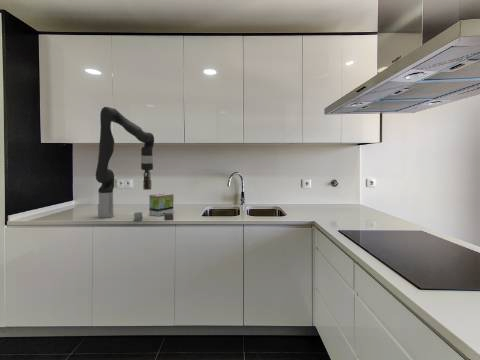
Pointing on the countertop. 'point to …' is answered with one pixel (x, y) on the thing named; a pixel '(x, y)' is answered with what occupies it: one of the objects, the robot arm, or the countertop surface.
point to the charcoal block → (168, 216)
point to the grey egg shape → (138, 216)
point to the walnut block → (149, 185)
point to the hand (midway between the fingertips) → (147, 188)
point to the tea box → (160, 204)
